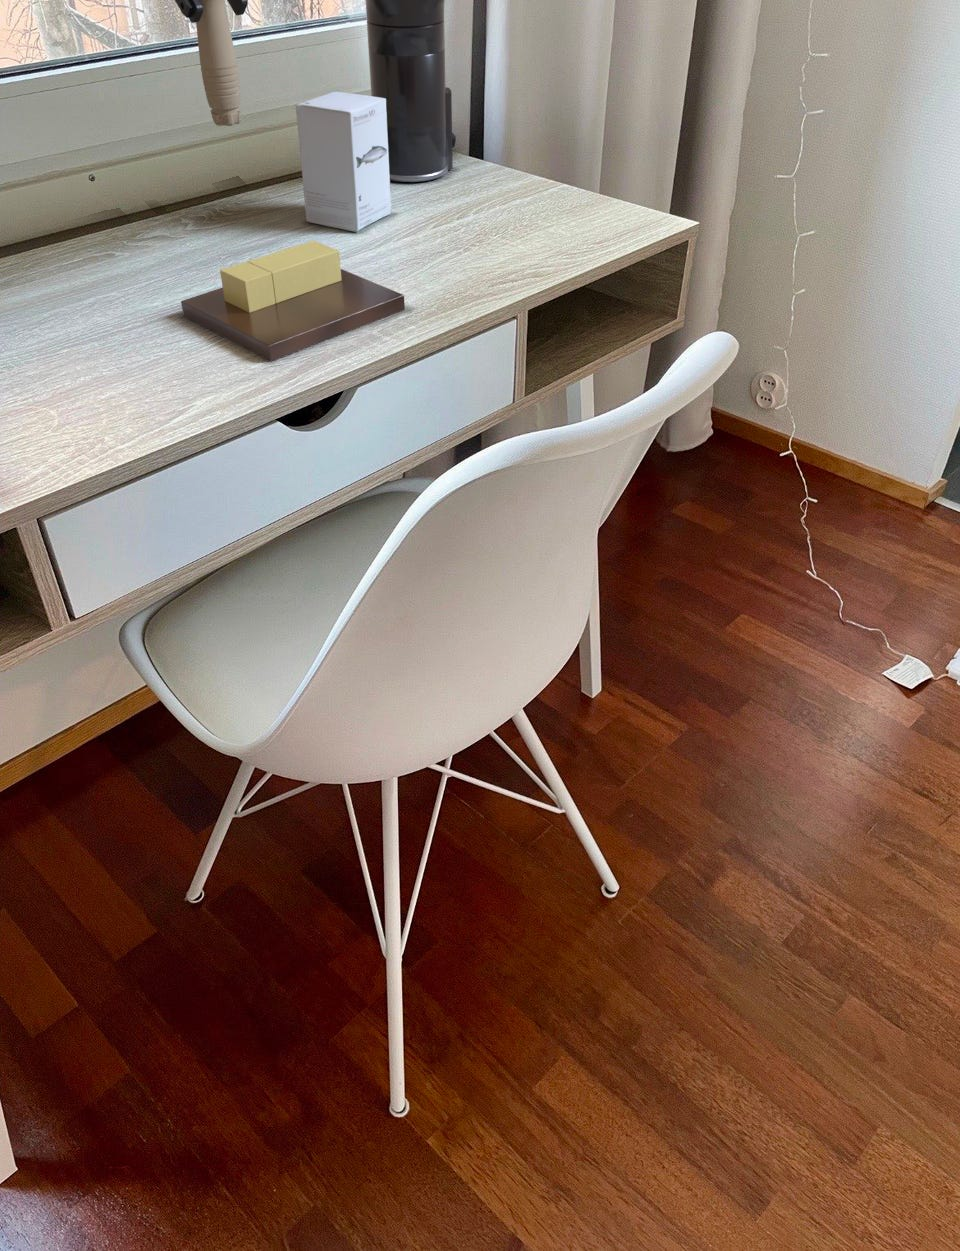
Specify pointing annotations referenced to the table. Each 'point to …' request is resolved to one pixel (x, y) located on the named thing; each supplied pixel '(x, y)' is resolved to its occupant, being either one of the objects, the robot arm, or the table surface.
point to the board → (296, 315)
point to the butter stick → (301, 269)
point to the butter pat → (247, 287)
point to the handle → (218, 63)
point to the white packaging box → (344, 159)
